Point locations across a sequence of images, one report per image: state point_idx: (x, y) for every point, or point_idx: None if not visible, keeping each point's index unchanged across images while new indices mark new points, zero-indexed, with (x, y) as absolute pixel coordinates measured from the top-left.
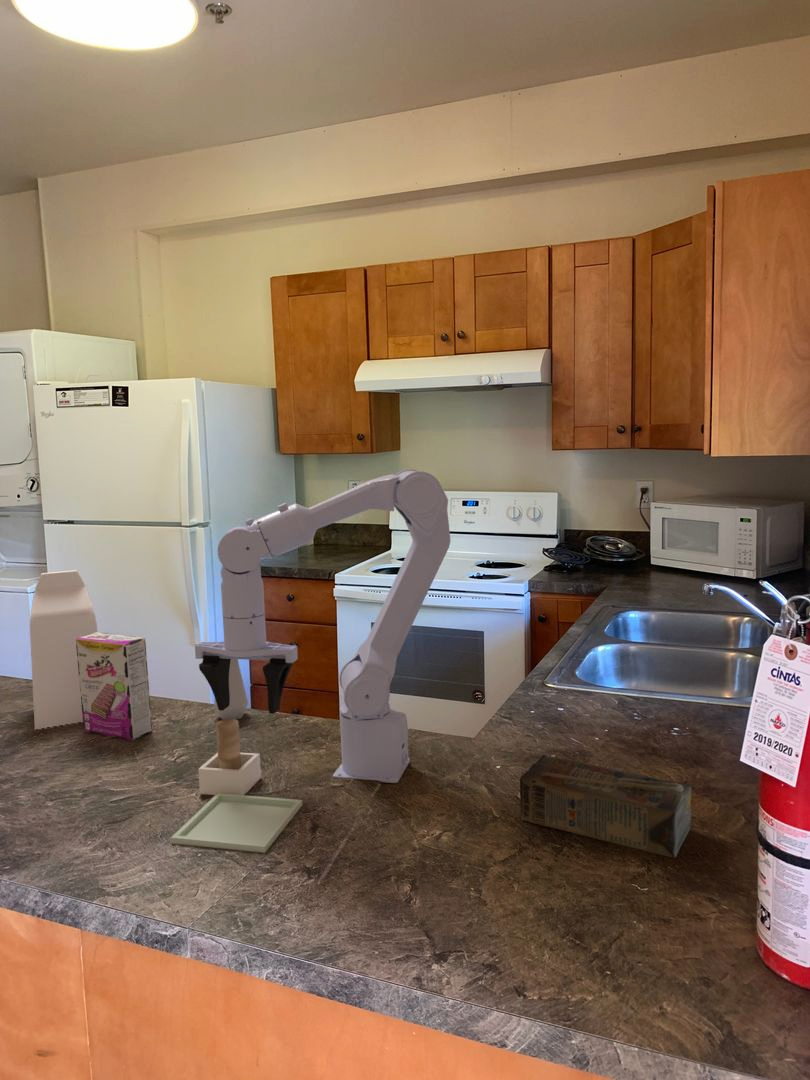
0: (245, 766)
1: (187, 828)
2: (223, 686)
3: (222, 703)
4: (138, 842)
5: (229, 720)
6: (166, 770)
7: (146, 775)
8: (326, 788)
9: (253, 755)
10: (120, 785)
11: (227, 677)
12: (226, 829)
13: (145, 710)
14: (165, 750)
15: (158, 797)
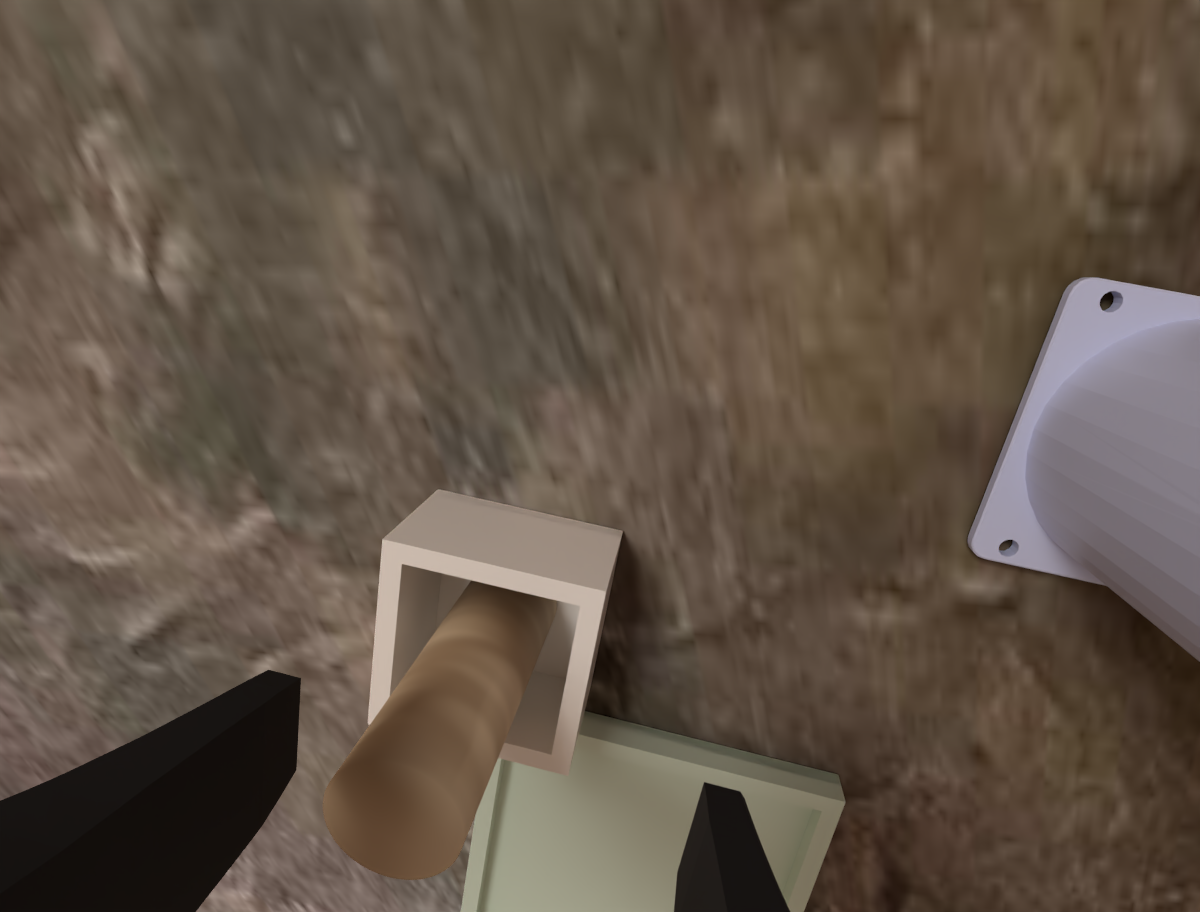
0: (574, 727)
1: (478, 903)
2: (146, 885)
3: (261, 813)
4: (359, 890)
5: (391, 786)
6: (176, 398)
7: (124, 444)
8: (932, 622)
9: (577, 602)
10: (83, 528)
11: (78, 868)
12: (599, 898)
13: None
14: (43, 153)
15: (272, 634)
